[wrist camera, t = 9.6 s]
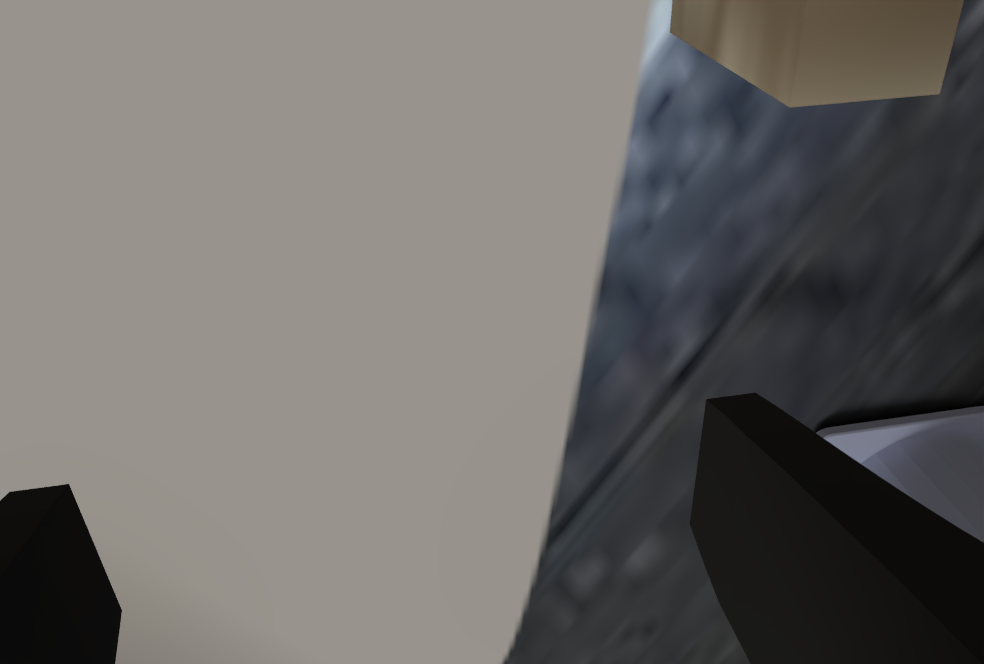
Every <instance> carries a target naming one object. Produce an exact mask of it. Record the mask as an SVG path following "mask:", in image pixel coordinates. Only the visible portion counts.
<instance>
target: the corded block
mask: <svg viewBox="0 0 984 664" xmlns="http://www.w3.org/2000/svg"><path fill="white" fill-rule="evenodd" d="M963 2H964V0H673V2H672V15H671V28H670V33H672V34H673V35H675V36H676V37H678V38H680V39H681V40H683V41H684V42H686V43H688V44H689V45H691V46H692V47H694V48H696V49H697V50H699V51H700V52H702V53H704V54H705V55H707V56H708V57H710V58H712V59H713V60H715V61H716V62H718V63H720V64H721V65H723V66H724V67H726V68H728V69H729V70H731V71H732V72H734V73H736V74H737V75H739V76H740V77H742V78H744V79H745V80H747V81H748V82H750V83H752V84H753V85H755V86H756V87H758V88H760V89H761V90H763V91H764V92H766V93H768V94H769V95H771V96H772V97H774V98H776V99H777V100H779V101H780V102H782V103H784V104H785V105H787V106H788V107H800V106H811V105H823V104H834V103H845V102H856V101H867V100H878V99H889V98H901V97H912V96H923V95H934V94H940V91H941V87H942V83H943V79H944V75H945V71H946V68H947V64H948V60H949V56H950V52H951V48H952V44H953V40H954V37H955V33H956V29H957V25H958V21H959V17H960V13H961V10H962V6H963Z"/></svg>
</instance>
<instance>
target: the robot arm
mask: <svg viewBox="0 0 984 664" xmlns="http://www.w3.org/2000/svg"><path fill="white" fill-rule="evenodd" d="M690 526H691V529H692V531H693V534H694V537H695V540H696V543H697V545H698V548H699V551H700V554H701V556H702V559H703V562H704V565H705V567H706V570H707V573H708V575H709V578H710V580H711V583H712V585H713V588H714V591H715V593H716V596H717V598H718V601H719V603H720V605H721V607H722V609H723V611H724V613H725V615H726V617H727V619H728V621H729V623H730V625H731V626H732V628H733V630H734V632H735V634H736V636H737V638H738V640H739V642H740V644H741V646H742V648H743V650H744V652H745V653H746V655H747V657H748V659H749V661H750V663H751V664H984V406H978V407H970V408H963V409H956V410H949V411H942V412H935V413H928V414H920V415H913V416H906V417H899V418H892V419H885V420H878V421H870V422H863V423H856V424H849V425H842V426H835V427H828V428H824V429H821V430H820V431H818V432H816V433H815V432H814V431H812V430H811V429H809V428H808V427H806V426H805V425H803V424H802V423H800V422H799V421H797V420H796V419H795V418H793V417H792V416H790V415H789V414H787V413H786V412H784V411H783V410H781V409H780V408H778V407H777V406H775V405H774V404H772V403H771V402H769V401H768V400H766V399H764V398H763V397H761V396H760V395H758V394H756V393H750V394H742V395H735V396H727V397H720V398H712V399H706V405H705V413H704V421H703V428H702V436H701V443H700V451H699V459H698V466H697V474H696V481H695V489H694V497H693V504H692V512H691V519H690ZM121 612H122V610H121V607H120V605H119V603H118V600H117V598H116V595H115V593H114V591H113V588H112V586H111V583H110V581H109V579H108V576H107V574H106V572H105V569H104V567H103V564H102V562H101V560H100V557H99V555H98V553H97V550H96V548H95V545H94V543H93V541H92V538H91V536H90V534H89V531H88V529H87V526H86V524H85V522H84V519H83V517H82V514H81V512H80V510H79V507H78V505H77V502H76V500H75V498H74V495H73V493H72V490H71V488H70V486H69V484H66V485H59V486H52V487H44V488H37V489H29V490H21V491H14V492H9V493H8V494H7V495H6V496H5V497H4V498H3V499H2V500H1V501H0V664H115V660H116V652H117V644H118V636H119V629H120V621H121Z"/></svg>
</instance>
